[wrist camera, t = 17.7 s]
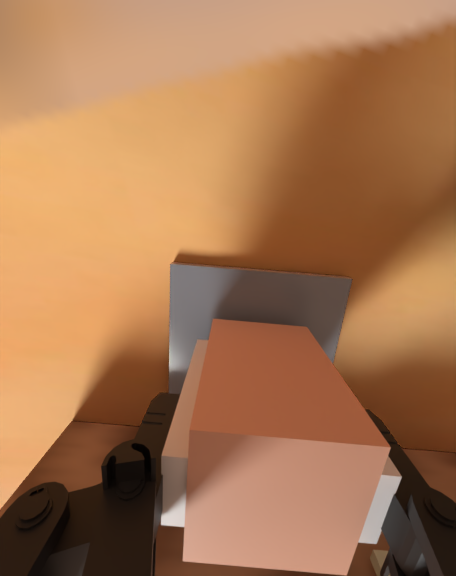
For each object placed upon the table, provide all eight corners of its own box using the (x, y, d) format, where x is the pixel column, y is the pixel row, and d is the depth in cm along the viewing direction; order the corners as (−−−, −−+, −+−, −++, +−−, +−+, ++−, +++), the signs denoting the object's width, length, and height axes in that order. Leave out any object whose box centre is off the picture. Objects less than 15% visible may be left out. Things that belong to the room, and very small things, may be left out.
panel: (170, 406, 16) (168, 412, 16) (173, 262, 14) (170, 263, 13) (315, 418, 16) (318, 425, 16) (347, 276, 14) (352, 279, 13)
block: (207, 397, 14) (182, 561, 7) (213, 318, 13) (189, 429, 6) (292, 404, 14) (346, 575, 7) (306, 326, 13) (390, 447, 6)
